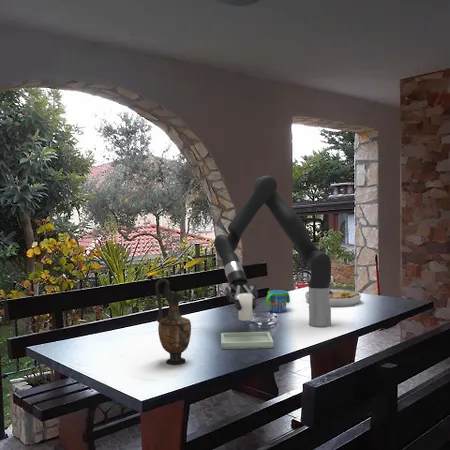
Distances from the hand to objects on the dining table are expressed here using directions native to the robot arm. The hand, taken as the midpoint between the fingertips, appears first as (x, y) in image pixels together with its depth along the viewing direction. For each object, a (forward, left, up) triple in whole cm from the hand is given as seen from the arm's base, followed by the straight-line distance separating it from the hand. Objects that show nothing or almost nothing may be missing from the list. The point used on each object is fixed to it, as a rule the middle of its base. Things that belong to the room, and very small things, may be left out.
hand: (247, 308), depth 198 cm
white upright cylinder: (+1, -2, -4) cm, 5 cm away
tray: (+1, -2, -14) cm, 14 cm away
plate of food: (-52, -79, -15) cm, 96 cm away
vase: (+27, +19, -15) cm, 37 cm away
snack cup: (-19, -59, -15) cm, 63 cm away
